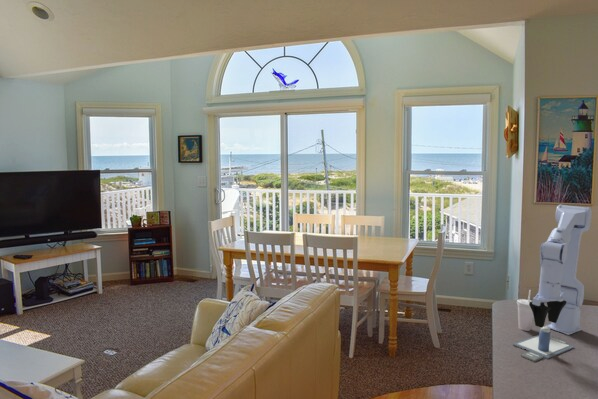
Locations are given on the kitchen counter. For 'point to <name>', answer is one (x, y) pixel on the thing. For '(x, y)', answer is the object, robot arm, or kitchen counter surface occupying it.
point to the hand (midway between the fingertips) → (545, 324)
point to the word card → (532, 356)
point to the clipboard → (554, 346)
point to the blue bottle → (544, 339)
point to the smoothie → (525, 313)
